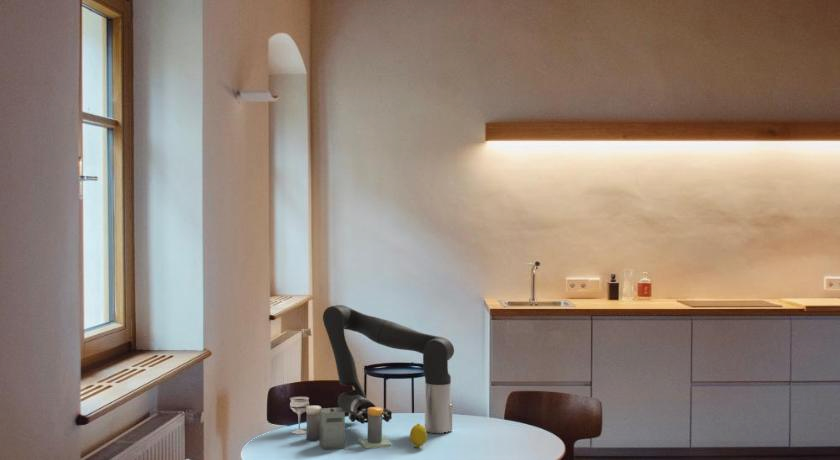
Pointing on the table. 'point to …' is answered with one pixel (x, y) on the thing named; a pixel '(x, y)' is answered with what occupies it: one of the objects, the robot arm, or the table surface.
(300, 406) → the wineglass
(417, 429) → the lemon
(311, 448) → the table surface
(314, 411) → the cylinder
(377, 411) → the cylinder
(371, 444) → the pad
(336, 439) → the unit
